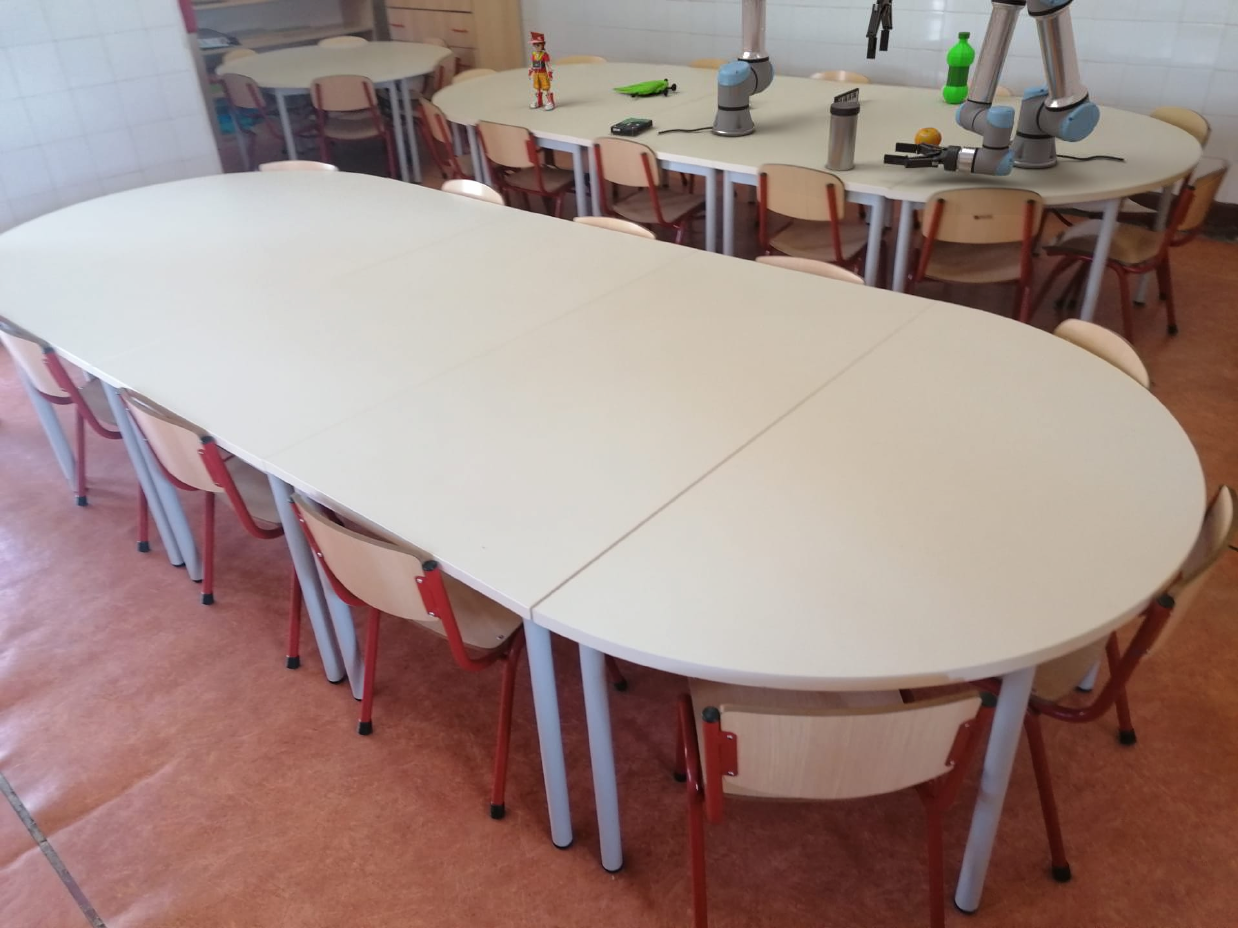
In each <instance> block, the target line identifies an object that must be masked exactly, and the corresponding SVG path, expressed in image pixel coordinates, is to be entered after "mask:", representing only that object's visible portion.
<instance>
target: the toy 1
mask: <svg viewBox="0 0 1238 928" xmlns="http://www.w3.org/2000/svg"><path fill="white" fill-rule="evenodd" d="M529 33H530V35H531V36H528V37H527V38H528V39H529V40H528V41H527V43H529V44H530V43H531V44H532V48H533V50H534V51H533V52H532V55H531V58H530V59H531V63H530V66H528V74H527V75H528V76H527V77H528V79H529V80H531V75H532V74H533V84H532V85H533V86H532V87H533V88H534V89H535V90H536V92H534V95H535V97H536V100H535V101H533V102H531V105H530V108H531V109H535V108H538V107H542V106H544V101H543V100H544V99H543V95H544V92H546V94H545V97H546V99H547V103H546V104H545V106H544V110H546V111H549V110H553V109H554V107H555V106H556V105H555V99H554V92H551V91H550V90H551V86H552V84H551V82H552V81H553V80H554V77H553V73H554V71H555V70H554V69H552V68H551V63H550V61H551V59H550V58H551V57H550V54H549V53H548V52H547V50H546V48H545V46H546V44H547V41H545V35H544V33H543V32H542V33H539V32H535V31H529Z"/></svg>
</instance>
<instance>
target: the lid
mask: <svg viewBox="0 0 1238 928" xmlns="http://www.w3.org/2000/svg"><path fill="white" fill-rule="evenodd" d="M860 113H861V104H860V103H858V102H836V103H834V102H833V103H831V104H830V107H829V114H830V115H831V114H832V115H836V116H853V115H857V114H858V115H859V114H860Z"/></svg>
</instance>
